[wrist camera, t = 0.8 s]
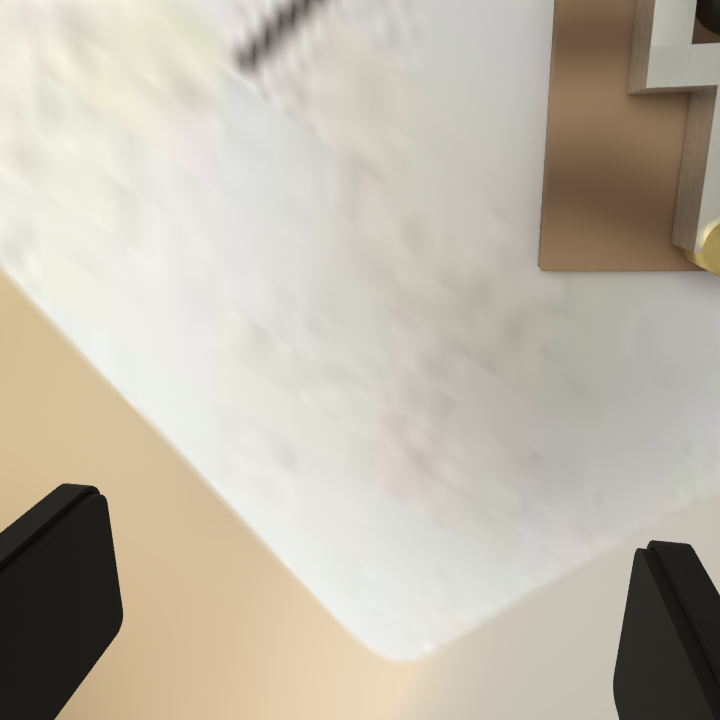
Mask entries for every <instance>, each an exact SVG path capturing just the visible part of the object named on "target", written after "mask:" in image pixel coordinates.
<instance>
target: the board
mask: <svg viewBox="0 0 720 720" xmlns="http://www.w3.org/2000/svg"><path fill="white" fill-rule="evenodd" d="M635 9H636V0H555V3H554V19H553V35H552V51H551V67H550V83H549V99H548V114H547V130H546V146H545V162H544V178H543V194H542V210H541V226H540V242H539V258H538V266H539V268H540V269H541V271H708V270H706V269H704V268H702V267H700V266H698V265H696V264H694V263H692V262H690V261H689V260H687V259H686V258H685V257H684V256H683V254H682V253H681V250H680V247H679V246H677V245H675V244H673V243H671V240H672V232H673V225H674V217H675V209H676V201H677V194H678V186H679V178H680V171H681V163H682V155H683V148H684V140H685V132H686V124H687V117H688V109H689V101H690V94H691V92H680V93H657V94H634V95H627V89H628V79H629V69H630V59H631V49H632V39H633V29H634V19H635ZM708 43H720V0H697V4H696V12H695V20H694V28H693V35H692V43H691V44H708Z"/></svg>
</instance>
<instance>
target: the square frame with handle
mask: <svg viewBox="0 0 720 720" xmlns="http://www.w3.org/2000/svg"><path fill="white" fill-rule="evenodd" d="M696 4H697V0H636V9H635V19H634V29H633V39H632V49H631V59H630V69H629V79H628V89H627V95H634V94H657V93H680V92H691V94H690V101H689V109H688V117H687V124H686V132H685V140H684V148H683V155H682V163H681V171H680V178H679V186H678V194H677V201H676V209H675V217H674V225H673V232H672V240H671V243H673V244H675V245H677V246H679V247H680V250H681V253H682V254H683V256H684V257H685V258H686V259H687V260H689V261H690V262H692V263H694V264H696V265H698V266H700V267H702V268H704V269H706V270H708V271H710V272H712V273H714V274H716V275H718V276H720V43H708V44H691V43H692V35H693V28H694V20H695V12H696Z"/></svg>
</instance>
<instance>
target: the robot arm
mask: <svg viewBox="0 0 720 720" xmlns="http://www.w3.org/2000/svg"><path fill="white" fill-rule="evenodd" d="M122 621H123V608H122V602H121V595H120V587H119V580H118V573H117V567H116V559H115V553H114V546H113V538H112V531H111V525H110V518H109V511H108V503H107V500H106V498H105V496H103V495H100V492H99V491H98V489H97V488H96V487H94V486H88V485H78V484H68V483H67V484H62V485H60V486H58V487H57V488H56V489H55V490H53V491H52V492H51V493H50V494H48V495H47V496H46V497H45V498H43V499H42V500H41V501H40V502H38V503H37V504H36V505H35V506H34V507H32V508H31V509H30V510H28V511H27V512H26V513H25V514H24V515H22V516H21V517H20V518H19V519H17V520H16V521H15V522H14V523H12V524H11V525H10V526H9V527H7V528H6V529H5V530H4V531H2V532H1V533H0V720H54V719H55V718H56V717H57V715H58V714H59V712H60V711H61V709H62V708H63V707H64V706H65V704H66V703H67V702H68V700H69V699H70V698H71V696H72V695H73V694H74V692H75V691H76V689H77V688H78V687H79V685H80V684H81V683H82V681H83V680H84V679H85V677H86V676H87V675H88V673H89V672H90V671H91V669H92V668H93V666H94V665H95V664H96V662H97V661H98V660H99V658H100V657H101V656H102V654H103V653H104V652H105V650H106V649H107V647H108V646H109V645H110V643H111V642H112V641H113V639H114V638H115V636H116V635H117V634H118V632H119V630H120V627H121V624H122ZM613 691H614V700H615V705H616V708H617V712H618V716H619V720H720V595H719V593H718V591H717V590H716V588H715V586H714V584H713V583H712V581H711V579H710V577H709V576H708V574H707V572H706V571H705V569H704V567H703V565H702V563H701V562H700V560H699V558H698V556H697V555H696V553H695V551H694V549H693V548H692V547H691V545H689V544H685V543H675V542H665V541H654V540H652V541H650V542H649V544H648V546H647V549H641V548H638V549H637V550H636V552H635V555H634V561H633V567H632V572H631V579H630V584H629V590H628V596H627V602H626V608H625V613H624V620H623V625H622V632H621V637H620V643H619V649H618V655H617V661H616V666H615V672H614V679H613Z"/></svg>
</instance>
